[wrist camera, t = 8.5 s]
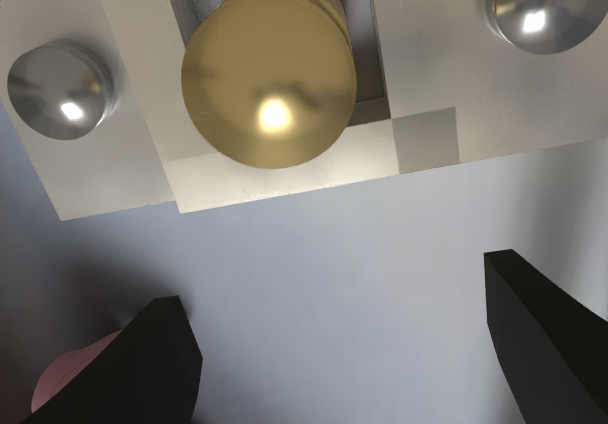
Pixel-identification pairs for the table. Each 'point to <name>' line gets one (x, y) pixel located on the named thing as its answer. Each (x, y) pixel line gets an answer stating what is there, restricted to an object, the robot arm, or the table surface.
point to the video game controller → (66, 370)
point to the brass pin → (271, 80)
